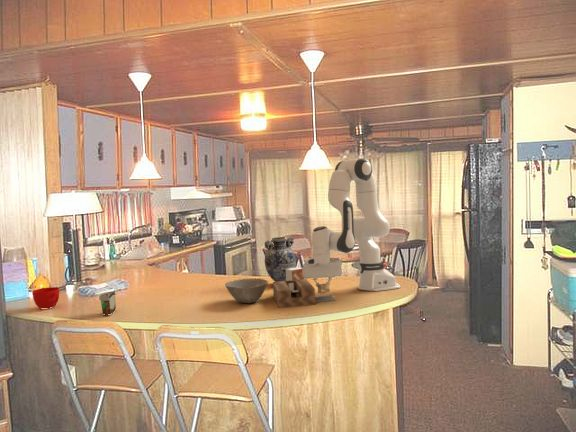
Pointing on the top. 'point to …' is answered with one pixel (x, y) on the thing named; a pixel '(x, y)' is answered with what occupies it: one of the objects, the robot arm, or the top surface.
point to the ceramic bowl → (246, 289)
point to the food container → (108, 302)
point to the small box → (294, 274)
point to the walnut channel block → (297, 299)
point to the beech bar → (323, 288)
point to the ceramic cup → (46, 297)
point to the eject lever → (292, 288)
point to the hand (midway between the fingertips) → (322, 286)
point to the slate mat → (324, 298)
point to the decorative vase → (279, 257)
